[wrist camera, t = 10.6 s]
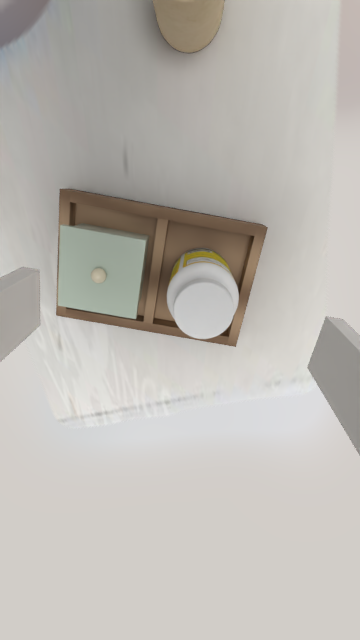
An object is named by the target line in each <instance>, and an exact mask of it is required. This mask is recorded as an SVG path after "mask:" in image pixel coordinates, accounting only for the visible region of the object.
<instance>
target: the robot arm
mask: <svg viewBox="0 0 360 640" xmlns="http://www.w3.org/2000/svg"><path fill="white" fill-rule="evenodd" d="M39 326H40V281H39V270H38V269H32V268H26V267H21V268H19V269H17V270H15V271H13V272H11V273H9V274H7V275H5V276H3V277H1V278H0V362H1V361H2V360H3V359H4V358H5V357H6V356H7V355H9V354H10V352H12V351H13V350H14V349H15V348H16V347H17V346H18V345H19V344H20V343H21V342H23V341H24V340H25V339H26V338H27V337H28V336H29V335H30V334H31V333H32V332H33V331H34V330H36V329H37V328H38V327H39ZM307 368H308V369H309V371H310V373H311V374H312V376H313V378H314V379H315V381H316V383H317V385H318V386H319V388H320V390H321V391H322V393H323V394H324V396H325V398H326V400H327V401H328V402H329V404H330V406H331V408H332V410H333V411H334V413H335V415H336V416H337V418H338V420H339V421H340V423H341V425H342V426H343V428H344V430H345V431H346V433H347V434H348V436H349V438H350V440H351V441H352V443H353V445H354V446H355V448H356V450H357V452H358V453H359V455H360V335H359V334H358V333H357V332H356V331H355V330H354V329H353V328H352V327H350V326H349V325H348V324H347V323H346V322H345V321H344V320H343V319H340V318H334V317H327V316H326V318H325V320H324V323H323V326H322V329H321V331H320V334H319V337H318V340H317V342H316V345H315V348H314V351H313V353H312V356H311V359H310V362H309V364H308V367H307Z"/></svg>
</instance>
